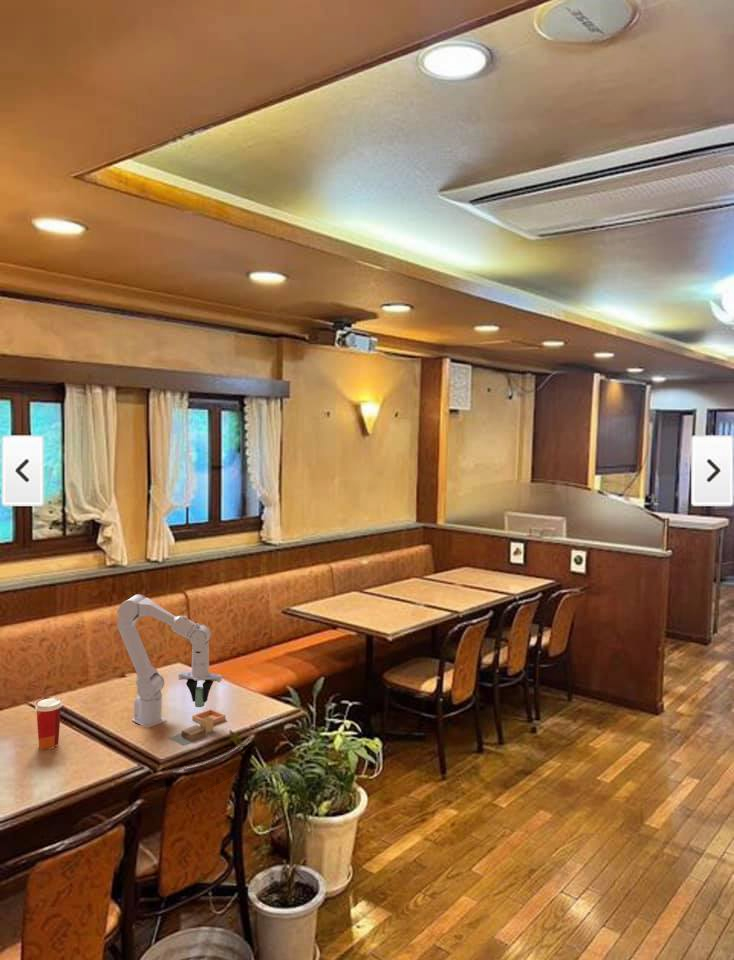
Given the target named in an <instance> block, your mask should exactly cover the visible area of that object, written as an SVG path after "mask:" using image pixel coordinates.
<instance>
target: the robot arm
mask: <svg viewBox="0 0 734 960" xmlns="http://www.w3.org/2000/svg"><path fill="white" fill-rule="evenodd" d="M117 614H118V615H117V624H116V626H117V629H118V632H119V635H120V636H121V639H122V642H123V644H124V646H125V648H126V652H127V653H128V656H129V658H130V661H131V663H132V665H133V668H134V669H135V672H136V678H135V684H136V687H137V692H136V693H137V696H136V697H135V699H134V701H133V716H134V717H133V718H132V719H131V721H132V722H133V723H136V724H138V725H140V726H143V727H144V728H147V729H148V728H151V727H153V726H157V725H159V724H162V723H164V722H167V721H168V720H167V719H166V718H164V717H162V705H163V704H162V703H163V702H162V701H163V697H162V696H163V695H162V689H164V687H165V678H164V677H163V676H162V675H161V674H160V673H159V671H158V669H157V668H155V667H153V666H152V663H151V661H150V658H149V656H148V653H147V652H146V648H145V647H144V646H145V645H144V644H143V642H142V639H141V637H140V634H139V632H138V630H137V627H136V623H137V621H138V619H139V618H141V617H147V616H150V617H153V618H155V620H158V621H160V622H163V623H165V624H167V625H169V626H170V628H171V630H172V631H173V632H174V633H176V634H178V635H180V636H182V637H183V638H185V639H187V640H189V642H190V644H191V671H190V672H189V671H188V672H179V673H178V680H179V681H182V680H186V683H185V684H186V687H187V688H188V689H189V692H190V695H191V696H190V697H191V699H192V702H194V703H195V688H196V687H198V682H199V681H204V682H202V687H203V691H204V697H203V701H204V702H205V703H207V701H208V698H209V693H210V690H211V688H212V685H213V683H214V682H217V683H221V682H222V680H223V677H222V674H217V673H212V672H209V671H210V641H209V640H210V639H211V636H212V632H211V629H210V627H208V626H207V625H206V624H200V623H198V622H197V623H196V622H194V621H193V620H190V619H189V617H188V616H187V615H177V616H176V615H174V614H173V613H171V612H169V611H168V610H166V609H165V608H163V607H162V606H160V605H159V604H156V603H155V602H153V600H151V599H150V598H149V597H146V596H144V595H143V594H140V593H139V594H135V595H133V596H131V597H130V598H129V599H127V600H124V601H123V602H121V603H120V606H119V607H118V609H117Z"/></svg>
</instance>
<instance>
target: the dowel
mask: <svg viewBox="0 0 734 960" xmlns="http://www.w3.org/2000/svg"><path fill="white" fill-rule="evenodd" d="M203 697H204V691H203V686H197V687H196V688H195V702H194V706H195V707H196V708H203V707H205V705H206V704H205V703H206V702H204V701H203Z"/></svg>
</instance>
